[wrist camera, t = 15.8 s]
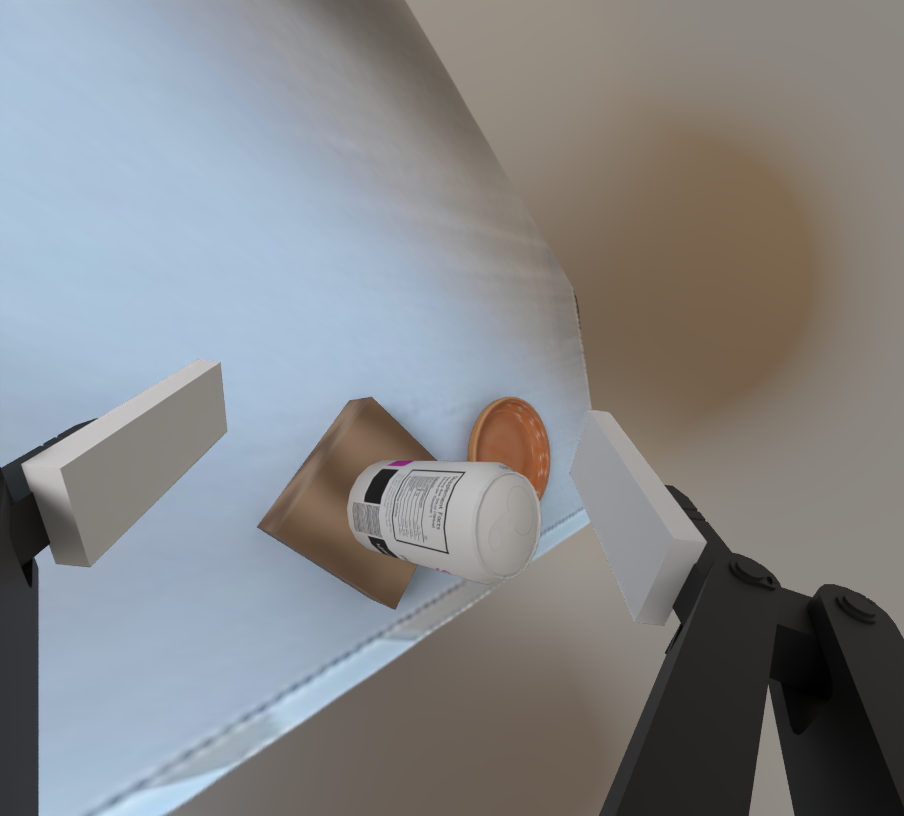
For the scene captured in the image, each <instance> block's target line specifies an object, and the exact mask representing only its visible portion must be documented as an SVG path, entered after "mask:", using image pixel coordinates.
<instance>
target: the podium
mask: <svg viewBox="0 0 904 816" xmlns="http://www.w3.org/2000/svg"><path fill="white" fill-rule="evenodd" d="M381 460H416V461H437V460H436V459H435V458H434V457H433V456H432V455H431V454H430V453H429V452H428V451H427V450H426V449H425V448H424V447H423V446H422V445H421V444H420V443H419V442H418V441H417V440H416V439H415V438H413V437H412V436H411V435H410V434H409V433H408V432H407V431H406V430H405V429H404V428H403V427H402V426H401V425H400V424H399V423H398V422H397V421H396V420H395V419H394V418H393V417H392V416H391V415H390V414H389V413H388V412H387V411H386V410H385V409H384V408H383V407H382V406H381V405H380V404H379V403H378V402H377V401H376V400H374V399H373V398H372V397H367V398H362V399H356V400H350V401H349V402H348V403H347V405H346V406H345V407H344V409H343V410H342V411H341V413H340V414H339V416H338V417H337V418H336V420H335V421H334V422H333V424H332V425H331V426H330V428H329V429H328V431H327V432H326V433H325V435H324V436H323V437H322V439H321V440H320V442H319V443H318V444H317V446H316V447H315V448H314V450H313V451H312V452H311V454H310V455H309V457H308V458H307V459H306V461H305V462H304V463H303V465H302V466H301V468H300V469H299V470H298V472H297V473H296V474H295V476H294V477H293V479H292V480H291V481H290V483H289V484H288V485H287V487H286V488H285V489H284V491H283V492H282V494H281V495H280V496H279V498H278V499H277V500H276V502H275V503H274V505H273V506H272V507H271V509H270V510H269V511H268V513H267V514H266V515H265V517H264V518H263V520H262V521H261V522H260V524H259V525H258V526H257V527H258V528H259V529H261V530H262V531H264V532H266V533H267V534H269V535H270V536H272V537H273V538H275V539H277V540H278V541H280V542H281V543H283V544H285V545H286V546H288V547H289V548H291V549H293V550H294V551H296V552H297V553H299V554H300V555H302V556H304V557H305V558H307V559H308V560H310V561H312V562H313V563H315V564H316V565H318V566H319V567H321V568H323V569H324V570H326V571H327V572H329V573H331V574H332V575H334V576H335V577H337V578H339V579H340V580H342V581H343V582H345V583H346V584H348V585H350V586H351V587H353V588H354V589H356V590H358V591H359V592H361V593H362V594H364V595H365V596H367V597H369V598H370V599H372V600H374V601H377V602H379V603H381V604H383V605H385V606H388V607H390V608H392V609H394V610H395V609H396V607H397V605H398V603H399V601H400V599H401V597H402V595H403V593H404V591H405V589H406V587H407V585H408V583H409V581H410V579H411V577H412V575H413V573H414V571H415V569H416V567H417V565H418V564H415V563H412V562H408V561H405V560H402V559H398V558H395V557H392V556H388V555H385V554H382V553H379V552H375V551H372V550H369V549H366V548H365V547H364V546H363V545H362V544H361V543H359V542H358V541H357V540H356V538H355V536H354V535H353V533H352V531H351V529H350V527H349V521H348V513H347V506H348V500H349V495H350V491H351V489H352V487H353V485H354V483H355V481H356V479H357V477H358V476H359V475H360V474H361V473H362V472H363V471H364V470H365V469H366V468H367V467H368V466H370V465H372V464H374V463H377V462H379V461H381Z"/></svg>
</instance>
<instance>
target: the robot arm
mask: <svg viewBox="0 0 904 816" xmlns="http://www.w3.org/2000/svg"><path fill="white" fill-rule="evenodd" d="M226 432H227V423H226V413H225V403H224V393H223V383H222V373H221V363H220V362H215V361H207V360H200V359H197V360H196V361H194V362H192V363H191V364H189V365H187V366H186V367H184V368H182V369H181V370H179V371H177V372H176V373H174V374H172V375H171V376H169V377H167V378H165V379H164V380H162V381H160V382H159V383H157V384H155V385H154V386H152V387H150V388H149V389H147V390H145V391H144V392H142V393H140V394H139V395H137V396H135V397H133V398H132V399H130V400H128V401H127V402H125V403H123V404H122V405H120V406H118V407H117V408H115V409H113V410H112V411H110V412H108V413H107V414H105V415H103V416H102V417H100V418H96V419H93V420H90V421H87V422H84V423H81V424H78V425H75V426H73V427H72V428H70V429H68V430H66V431H65V432H63V433H61V434H59V435H58V437H57V438H55V437H54V438H52V439H51V440H49V441H47V442H46V443H44V445H43V446H39V447H37V448H35V449H33V450H32V451H30V452H28V453H26V454H25V455H23V456H21V457H19V458H18V459H16V460H14V461H13V462H11V463H9V464H7V465H6V466H4V467H2V468H1V467H0V816H38V566H37V563H36V561H35V558H34V556H36V555H37V554H38V553H39V552H40V551H42V550H43V549H44V548H45V547H46V546H48V545H49V546H50V548H51V551H52V554H53V557H54V560H55V563H56V564H62V565H71V566H81V567H91V566H92V565H93V564H94V563H95V562H96V561H97V560H98V559H99V558H100V557H101V556H102V555H103V554H104V553H105V552H106V551H107V550H108V549H109V548H110V547H111V546H112V545H113V544H114V543H115V542H116V541H117V540H118V539H119V538H120V537H121V536H122V535H123V534H124V533H125V532H126V531H127V530H128V529H129V528H130V527H131V526H132V525H133V524H134V523H135V522H136V521H137V520H138V519H139V518H140V517H141V516H142V515H143V514H145V513H146V512H147V511H148V510H149V509H150V508H151V507H152V506H153V505H154V504H155V503H156V502H157V501H158V500H159V499H160V498H161V497H162V496H163V495H164V494H165V493H166V492H167V491H168V490H169V489H170V488H171V487H172V486H173V485H174V484H175V483H176V482H177V481H178V480H179V479H180V478H181V477H182V476H183V475H184V474H185V473H186V472H187V471H188V470H189V469H190V468H191V467H192V466H193V465H194V464H195V463H196V462H197V461H198V460H199V459H200V458H201V457H202V456H203V455H204V454H205V453H206V452H207V451H208V450H209V449H210V448H211V447H212V446H213V445H214V444H215V443H216V442H217V441H218V440H219V439H220V438H221V437H222V436H223V435H224V434H225V433H226ZM570 475H571V477H572V479H573V482H574V484H575V486H576V489H577V491H578V493H579V496H580V498H581V500H582V503H583V505H584V507H585V510H586V512H587V514H588V516H589V519H590V521H591V523H592V525H593V528H594V530H595V533H596V535H597V537H598V539H599V542H600V544H601V546H602V549H603V551H604V553H605V556H606V558H607V560H608V562H609V565H610V567H611V569H612V572H613V574H614V576H615V579H616V581H617V583H618V586H619V588H620V590H621V593H622V595H623V597H624V600H625V602H626V604H627V606H628V609H629V611H630V613H631V616H632V618H633V620H634V622H635V623H642V624H652V625H661V626H664V625H665V623H666V621H667V619H668V617H669V615H670V613H671V611H672V609H674V611H675V613H676V615H677V616H678V618H679V620H680V622H681V624H680V626H679V627H678V629H677V631H676V633H675V635H674V637H673V639H672V640H671V643H670V644H669V646H668V648H667V650H666V652H665V654H667V655H666V657H665V660H664V662H663V664H662V667H661V669H660V671H659V674H658V676H657V678H656V681H655V683H654V686H653V688H652V691H651V693H650V695H649V698H648V700H647V702H646V705H645V707H644V710H643V712H642V714H641V717H640V719H639V721H638V724H637V726H636V729H635V731H634V733H633V736H632V738H631V740H630V743H629V745H628V748H627V750H626V752H625V755H624V757H623V759H622V762H621V764H620V767H619V769H618V772H617V774H616V776H615V779H614V781H613V784H612V786H611V788H610V790H609V793H608V795H607V798H606V800H605V803H604V805H603V808H602V810H601V812H600V814H599V816H749V809H750V803H751V796H752V789H753V782H754V776H755V769H756V762H757V755H758V748H759V742H760V735H761V728H762V722H763V715H764V708H765V701H766V695H767V688H768V684H769V689H770V693H771V699H772V704H773V709H774V714H775V719H776V724H777V729H778V734H779V739H780V745H781V750H782V755H783V759H784V765H785V770H786V774H787V780H788V785H789V790H790V795H791V799H792V805H793V810H794V815H795V816H904V639H903V637H902V635H901V634H900V631H899V630H898V628H897V626H896V624H895V623H894V622H893V620H892V619H891V618H890V617H889V615H888V614H887V613H886V612H885V611H883V610H882V609H881V608H880V607H878V606H877V605H876V603H874V602H873V601H872V600H870V599H868V598H866V597H865V596H864V595H862V594H860V593H857V592H854V591H852V590H850V589H848V588H845V587H841V586H838V585H834V584H824V585H823V586H821V587H820V588H819V589H818V591H817V592H816V594H815V595H814V596H813V598H812V597H809V596H806V595H803V594H800V593H797V592H794V591H791V590H788V589H785V588H782V587H781V585H780V583H779V581H778V580H777V579H776V577H775V576H774V575H773V574H772V573H771V572H770V571H768V570H767V569H766V568H765V567H764V566H762V565H761V564H759V563H757V562H756V561H754V560H752V559H750V558H748V557H745V556H743V555H740V554H736V553H732V552H731V551H730V550H729V548H728V547H727V546H726V544H725V543H724V542H723V541H722V539H721V538H720V537H719V536H718V534H717V533H716V532H715V531H714V529H713V528H712V527H711V526H710V525H709V523H708V522H705V518H704V517H703V516H702V515H701V513H700V512H697V508H696V507H695V506H694V505H693V503H692V502H691V501H690V500H689V498H688V497H687V496H685V495H684V494H683V493H681V492H680V491H679V490H677V489H676V488H675V487H673V486H669V485H664V484H663V483H662V482H661V480H660V479H659V478H658V476H657V475H656V474H655V472H654V471H653V470H652V468H651V467H650V466H649V465H648V463H647V462H646V460H645V459H644V458H643V456H642V455H641V454H640V452H639V451H638V450H637V448H636V447H635V446H634V444H633V443H632V442H631V440H630V439H629V438H628V437H627V435H626V434H625V433H624V431H623V430H622V429H621V427H620V426H619V425H618V423H617V422H616V421H615V419H614V418H613V417H612V415H611V414H610V413H609V412H603V411H595V410H589V411H588V414H587V417H586V421H585V424H584V427H583V430H582V434H581V437H580V440H579V443H578V447H577V450H576V453H575V457H574V460H573V463H572V466H571V470H570Z"/></svg>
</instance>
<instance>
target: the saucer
mask: <svg viewBox="0 0 904 816" xmlns="http://www.w3.org/2000/svg"><path fill="white" fill-rule="evenodd" d="M468 462H500V463H502V464H504V465H506V466H508V467H509V468H511V469H513V470H514V471H515V472H517V473H519V474H521V475H523V476H525V477H526V478H527V479H528V480H529V482H530V483H531V484H532V485H533V487H534V488H535V491H536V494H537V497H538V499H539V502H540V500H541V498H542V496H543V494H544V491H545V489H546V486H547V482H548V477H549V470H550V449H549V442H548V437H547V433H546V430H545V427H544V425H543V422H542V420H541V418H540V417H539V415H538V413H537V412H536V411H535V410H534V408H533V407H532V406H531V405H530V404H528V403H527V402H526V401H524V400H522V399H519V398H516V397H505V398H501V399H498V400H496V401H494V402H492V403H491V404H489V405H488V406H487V407H486V408H485V409H484V410H483V411H482V413H481V414H480V416H479V417H478V419H477V421H476V423H475V425H474V427H473V430H472V433H471V436H470V440H469V446H468Z"/></svg>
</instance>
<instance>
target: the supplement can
mask: <svg viewBox="0 0 904 816" xmlns="http://www.w3.org/2000/svg"><path fill="white" fill-rule="evenodd" d="M347 513H348V521H349V527H350V529H351V531H352V533H353V535H354V536H355V538H356V540H357V541H358V542H359V543H361V544H362V545H363V546H364V547H365V548H366V549H369V550H372V551H375V552H379V553H382V554H385V555H388V556H392V557H395V558H398V559H402V560H405V561H408V562H412V563H415V564H418V565H422V566H425V567H428V568H432V569H435V570H438V571H442V572H445V573H448V574H452V575H455V576H458V577H462V578H465V579H468V580H471V581H475V582H479V583H483V584H491V583H494V582H497V581H500V580H503V579H509V578H512V577H515V576H518V575H519V574H520V573H521V572H522V571H523V570H524V569H525V568H526V567H528V565H529V563H530V561H531V560H532V558H533V556H534V554H535V552H536V549H537V546H538V542H539V539H540V532H541V520H542V518H541V510H540V502H539V499H538V497H537V494H536V491H535V488H534V487H533V485H532V484H531V483H530V482H529V480H528V479H527V478H526V477H525V476H523V475H521V474H519V473H517V472H515V471H514V470H513V469H511V468H509V467H508V466H506V465H504V464H502V463H500V462H463V461H416V460H381V461H379V462H377V463H374V464H372V465H370V466H368V467H367V468H366V469H365V470H364V471H363V472H362V473H361V474H360V475H359V476H358V477H357V479H356V481H355V483H354V485H353V487H352V489H351V491H350V495H349V500H348V506H347Z"/></svg>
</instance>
